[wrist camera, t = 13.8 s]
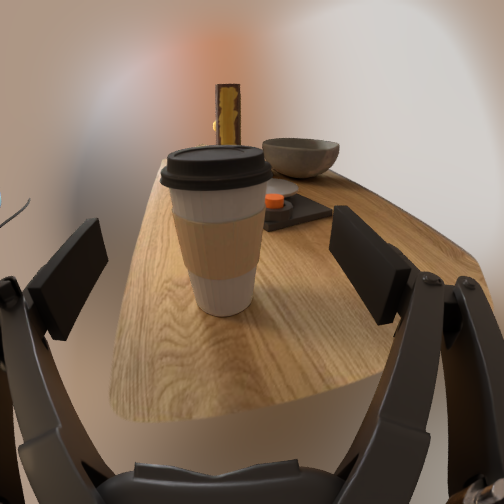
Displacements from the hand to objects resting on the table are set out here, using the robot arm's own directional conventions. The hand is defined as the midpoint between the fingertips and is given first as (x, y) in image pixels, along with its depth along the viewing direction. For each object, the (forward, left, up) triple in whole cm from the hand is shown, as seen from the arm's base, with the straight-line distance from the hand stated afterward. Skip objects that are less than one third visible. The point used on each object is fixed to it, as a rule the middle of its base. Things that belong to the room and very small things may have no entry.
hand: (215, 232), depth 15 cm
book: (-64, +32, -12) cm, 73 cm away
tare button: (-23, +20, -10) cm, 32 cm away
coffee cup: (-9, +4, -12) cm, 16 cm away
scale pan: (-31, +24, -9) cm, 40 cm away
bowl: (-45, +44, -12) cm, 64 cm away
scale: (-29, +24, -12) cm, 40 cm away
